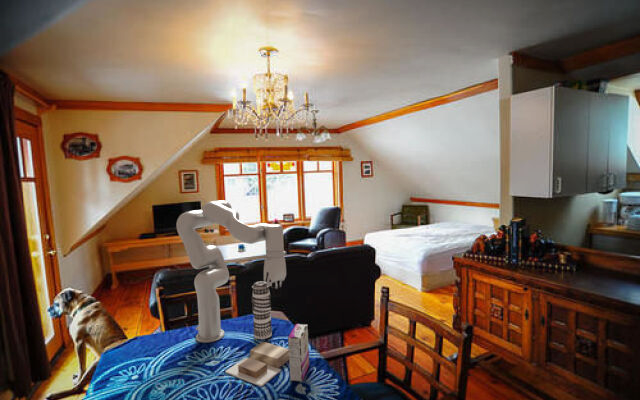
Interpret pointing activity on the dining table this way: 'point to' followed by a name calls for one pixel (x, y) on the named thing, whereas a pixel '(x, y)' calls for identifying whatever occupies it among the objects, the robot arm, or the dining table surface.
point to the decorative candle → (261, 310)
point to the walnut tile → (252, 368)
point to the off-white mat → (259, 381)
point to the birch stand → (270, 354)
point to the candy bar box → (298, 352)
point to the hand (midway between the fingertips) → (276, 296)
